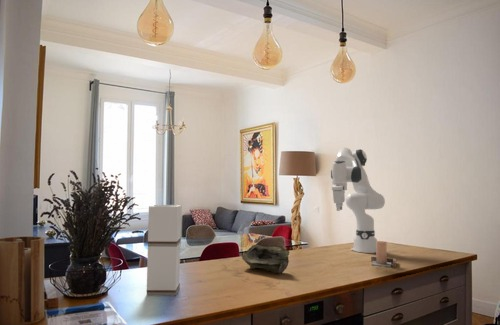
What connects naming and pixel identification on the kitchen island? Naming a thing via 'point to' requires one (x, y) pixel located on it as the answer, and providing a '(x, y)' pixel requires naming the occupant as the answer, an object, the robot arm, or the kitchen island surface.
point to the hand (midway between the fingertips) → (339, 210)
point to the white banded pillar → (164, 250)
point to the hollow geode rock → (267, 258)
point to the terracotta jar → (381, 252)
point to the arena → (389, 261)
